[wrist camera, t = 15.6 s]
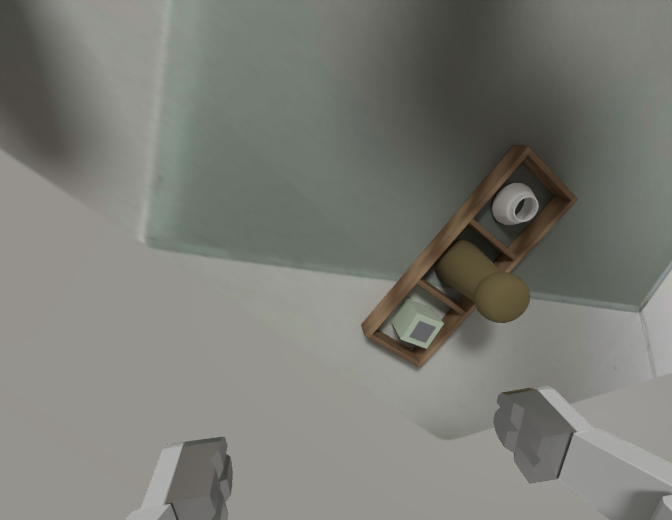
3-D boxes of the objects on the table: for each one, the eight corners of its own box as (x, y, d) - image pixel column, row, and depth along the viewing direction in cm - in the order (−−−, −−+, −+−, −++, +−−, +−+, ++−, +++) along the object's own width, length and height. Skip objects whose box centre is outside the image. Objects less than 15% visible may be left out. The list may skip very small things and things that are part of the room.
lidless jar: (537, 192, 40) (506, 175, 39) (555, 197, 37) (522, 179, 36) (513, 229, 42) (482, 214, 40) (529, 236, 39) (496, 220, 37)
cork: (476, 281, 44) (534, 329, 33) (432, 285, 43) (478, 335, 33) (482, 238, 41) (547, 275, 31) (436, 241, 40) (487, 280, 30)
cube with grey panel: (406, 296, 43) (418, 313, 39) (430, 307, 44) (444, 324, 40) (391, 321, 44) (401, 340, 40) (415, 330, 45) (427, 349, 41)
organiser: (513, 145, 37) (528, 146, 35) (561, 195, 40) (578, 199, 38) (361, 324, 43) (365, 336, 41) (413, 355, 47) (419, 367, 44)
